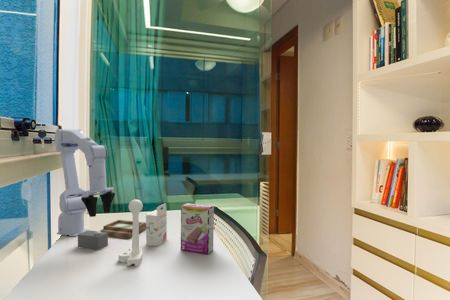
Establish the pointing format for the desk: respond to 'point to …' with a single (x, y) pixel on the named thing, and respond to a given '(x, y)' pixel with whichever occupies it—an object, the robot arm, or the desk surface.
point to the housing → (93, 240)
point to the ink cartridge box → (156, 226)
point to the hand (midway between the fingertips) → (100, 214)
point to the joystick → (133, 238)
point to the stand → (122, 228)
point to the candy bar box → (197, 228)
